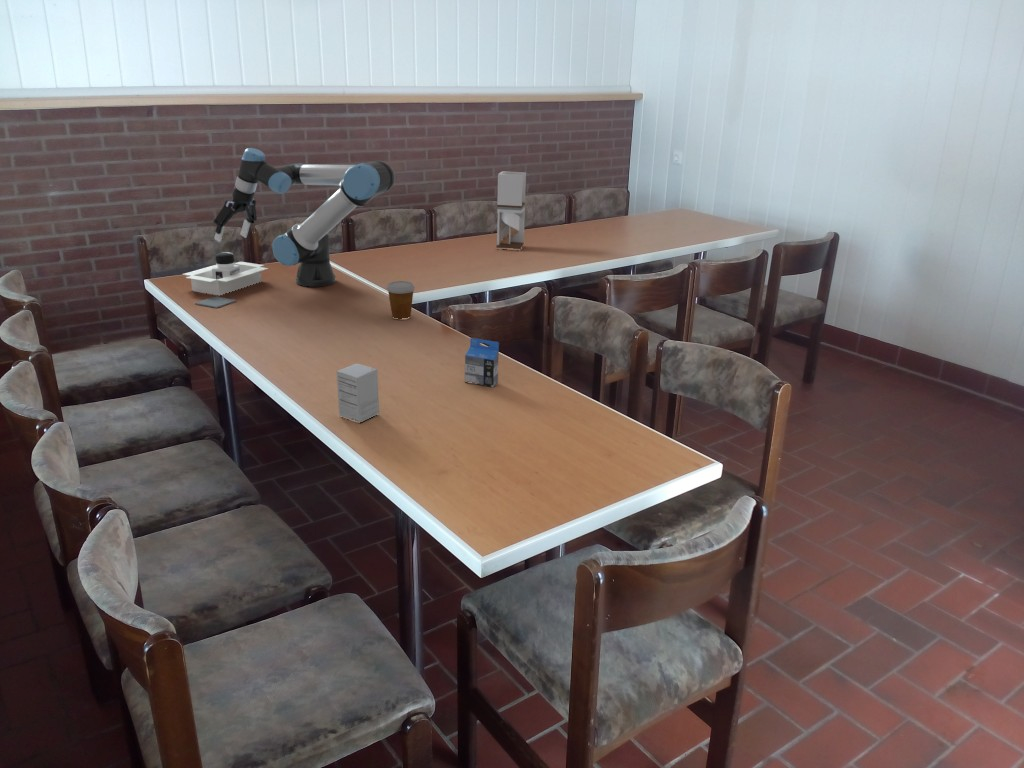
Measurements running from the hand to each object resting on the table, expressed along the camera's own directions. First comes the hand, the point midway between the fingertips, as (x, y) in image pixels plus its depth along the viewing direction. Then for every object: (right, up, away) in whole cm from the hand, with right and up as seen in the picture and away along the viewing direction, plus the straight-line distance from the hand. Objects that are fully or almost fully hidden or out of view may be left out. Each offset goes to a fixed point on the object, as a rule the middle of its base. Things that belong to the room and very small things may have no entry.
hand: (230, 238), depth 316 cm
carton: (-1, -19, 0) cm, 19 cm away
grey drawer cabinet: (+70, -65, -108) cm, 144 cm away
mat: (+2, -27, -20) cm, 34 cm away
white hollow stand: (+108, +9, +76) cm, 132 cm away
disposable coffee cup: (+70, -33, -30) cm, 83 cm away
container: (-1, -19, 0) cm, 19 cm away
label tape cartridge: (+100, -56, -85) cm, 143 cm away
